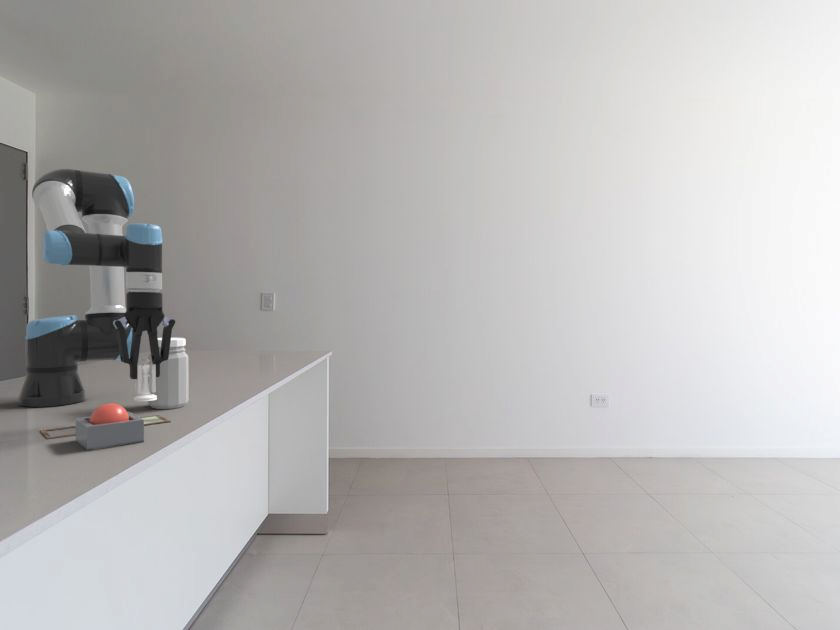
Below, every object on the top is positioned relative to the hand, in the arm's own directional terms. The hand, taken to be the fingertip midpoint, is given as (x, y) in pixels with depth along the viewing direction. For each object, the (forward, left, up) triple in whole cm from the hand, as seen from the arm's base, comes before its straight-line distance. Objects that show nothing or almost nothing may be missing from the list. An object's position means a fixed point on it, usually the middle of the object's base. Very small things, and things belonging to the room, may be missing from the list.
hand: (145, 392), depth 130 cm
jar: (-15, +10, -7) cm, 20 cm away
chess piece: (0, 0, -2) cm, 2 cm away
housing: (+14, -11, -7) cm, 19 cm away
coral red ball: (+14, -11, -6) cm, 19 cm away
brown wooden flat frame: (0, -8, -7) cm, 10 cm away
